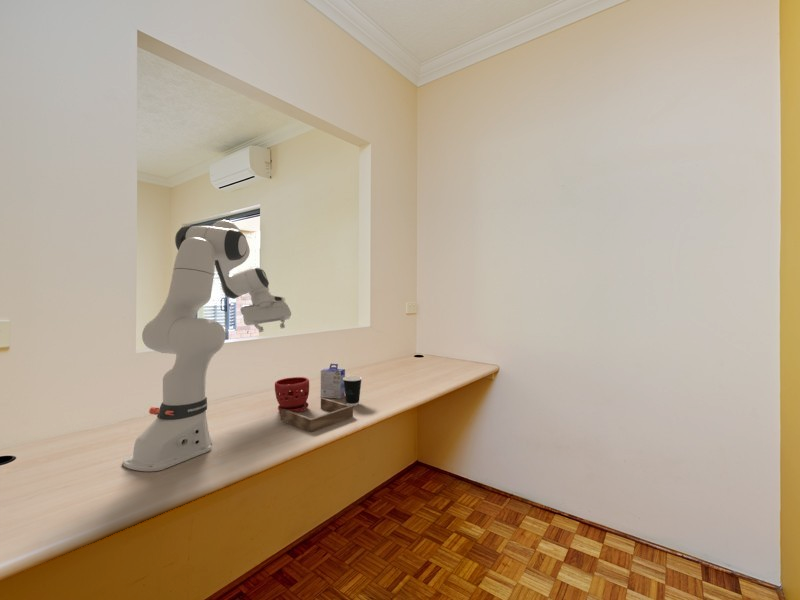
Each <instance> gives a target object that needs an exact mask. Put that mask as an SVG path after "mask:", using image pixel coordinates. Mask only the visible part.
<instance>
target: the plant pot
mask: <svg viewBox="0 0 800 600" xmlns="http://www.w3.org/2000/svg"><path fill="white" fill-rule="evenodd" d="M274 393H275V399H276V401H277V403H278V406H277V410H278V411H279V412H280V413H281V410H282V409H286V410H289V411H292V412H294V413H297V414H299V413H301V412H303V411H305V410H307V409H308V407H309V403H308V398H309V394H310V380H309V378H308V377H304V376H296V377H295V376H293V377H287V378H285V377H284V378H281V379H278V380H276V381H275V382H274Z"/></svg>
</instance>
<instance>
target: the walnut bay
mask: <svg viewBox="0 0 800 600" xmlns="http://www.w3.org/2000/svg"><path fill="white" fill-rule="evenodd" d="M320 409H322V410H325V411H327V413H324V414H321V415H318V416H315V417H313V418H311V417H309V416H306V415H302V414H300V413H294V412H292V411H289V410H286V409H282V410H281V412H280V413H281V414H280V416H281V417H280V421H281V422H284V423H286V424H289V425H291V426H295V427H297V428H300V429H303V430H305V431H307V432H310V433H313V432H315V431H317V430H321V429H324V428H326V427H329V426H332V425H334V424H337V423H340V422H342V421H345V420H348V419H351V418H353V417H354V406H350V405H347V403H343V402H339V401H336V400H333V399H330V398H323V397H320Z"/></svg>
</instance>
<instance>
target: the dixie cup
mask: <svg viewBox="0 0 800 600" xmlns="http://www.w3.org/2000/svg"><path fill="white" fill-rule="evenodd" d="M343 380H344V388H345V396H344V397H345V404H347V405H350V406H353V407H356V406H358V405H359V402H360V398H361V389H362V388H361V387H362V380H363V377H362V376H358V375H348V376H345V377H344V378H343Z"/></svg>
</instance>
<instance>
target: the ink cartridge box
mask: <svg viewBox="0 0 800 600" xmlns="http://www.w3.org/2000/svg"><path fill="white" fill-rule="evenodd" d="M338 365H339V364H338V363H330V365H329V368H324V369H321V370H320V396H319V398H325V399H338V400H339V399H342V398H344V397H345V388H344V380H343V378H344V377H346V369H345V368H338Z"/></svg>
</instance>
